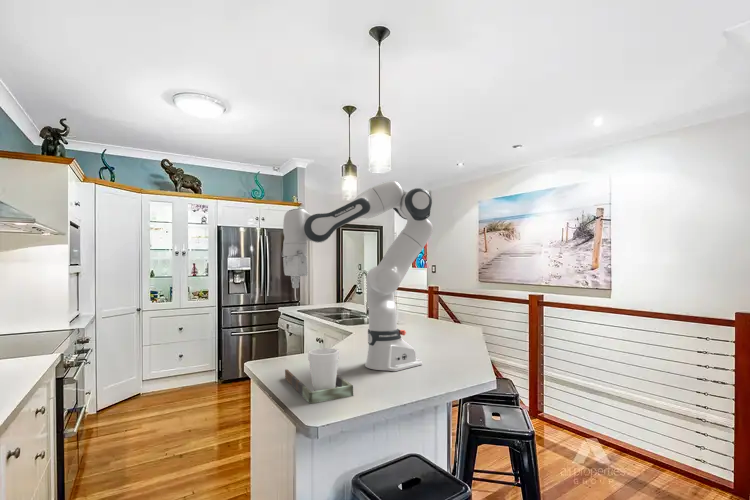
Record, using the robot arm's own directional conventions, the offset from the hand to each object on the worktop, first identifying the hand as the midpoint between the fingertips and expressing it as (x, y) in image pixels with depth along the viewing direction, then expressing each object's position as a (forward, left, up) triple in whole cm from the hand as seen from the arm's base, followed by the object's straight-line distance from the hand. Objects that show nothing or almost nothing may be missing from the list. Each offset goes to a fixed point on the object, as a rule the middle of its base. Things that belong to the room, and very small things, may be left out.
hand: (295, 288), depth 142 cm
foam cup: (-1, +29, -31) cm, 43 cm away
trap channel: (-1, +21, -31) cm, 37 cm away
